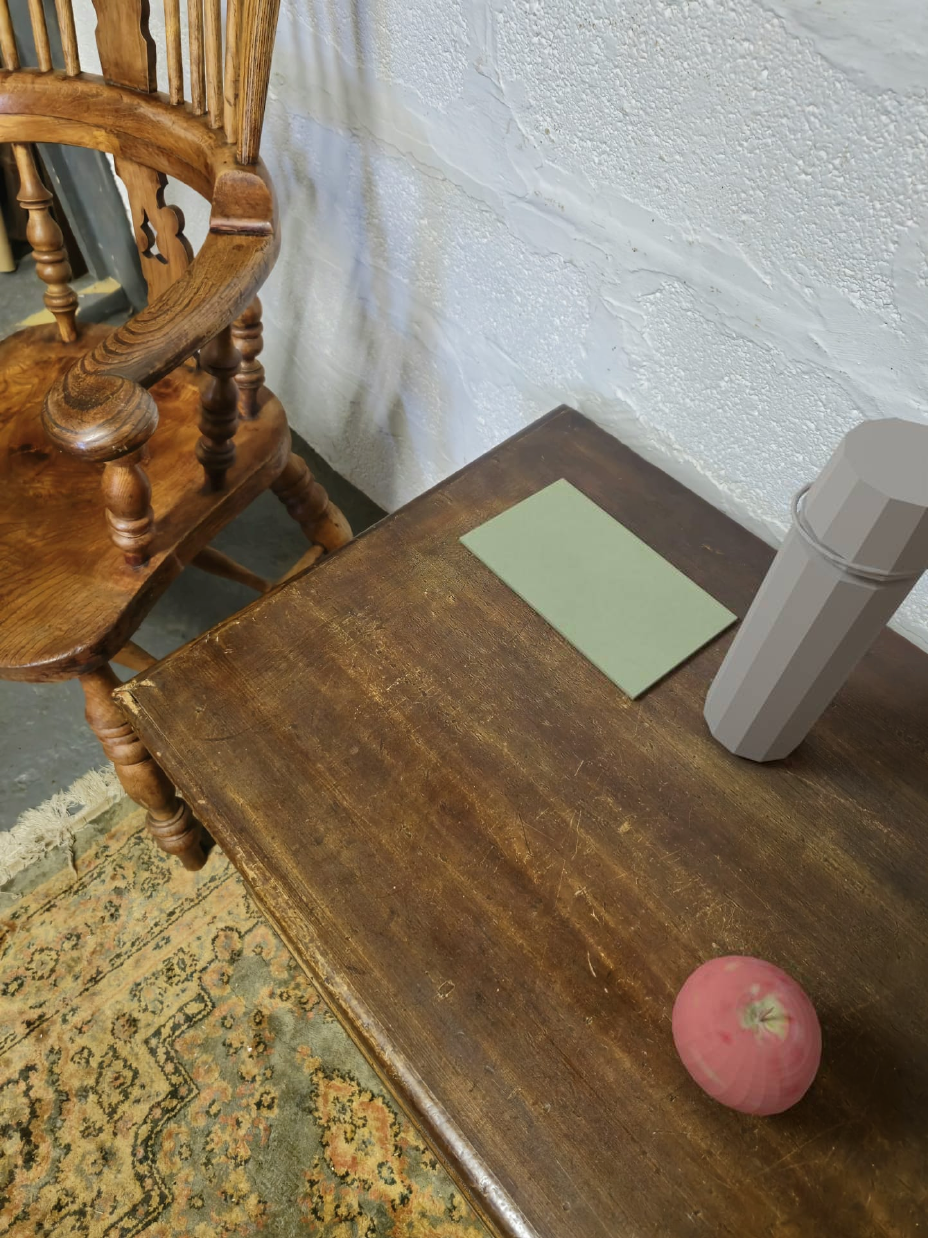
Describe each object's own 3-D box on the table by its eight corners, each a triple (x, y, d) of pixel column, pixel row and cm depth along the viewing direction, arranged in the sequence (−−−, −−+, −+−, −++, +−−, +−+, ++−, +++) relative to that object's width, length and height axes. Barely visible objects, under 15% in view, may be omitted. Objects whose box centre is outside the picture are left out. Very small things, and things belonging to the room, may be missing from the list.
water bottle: (813, 773, 59) (1013, 521, 39) (700, 763, 59) (842, 507, 39) (791, 664, 64) (957, 396, 45) (688, 655, 65) (808, 384, 45)
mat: (736, 620, 67) (738, 617, 67) (632, 700, 62) (633, 697, 62) (562, 480, 76) (562, 477, 76) (459, 540, 71) (459, 537, 71)
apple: (687, 954, 51) (725, 909, 45) (805, 1024, 49) (863, 988, 43) (636, 1070, 47) (670, 1039, 41) (762, 1152, 45) (818, 1133, 39)
